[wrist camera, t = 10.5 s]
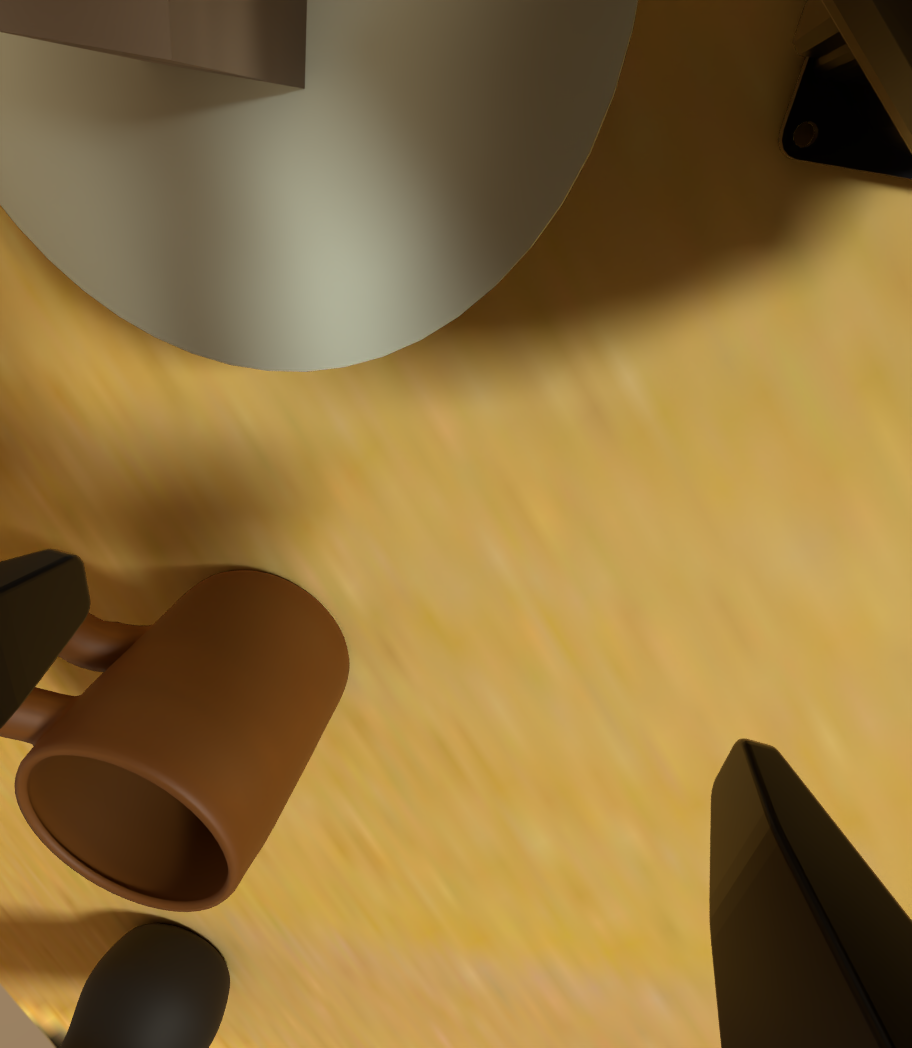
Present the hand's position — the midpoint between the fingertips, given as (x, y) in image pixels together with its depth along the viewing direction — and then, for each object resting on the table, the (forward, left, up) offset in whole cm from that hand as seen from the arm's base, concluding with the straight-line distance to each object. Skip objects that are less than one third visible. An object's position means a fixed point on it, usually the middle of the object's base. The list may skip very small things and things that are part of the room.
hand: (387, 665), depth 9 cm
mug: (+10, +12, -13) cm, 20 cm away
